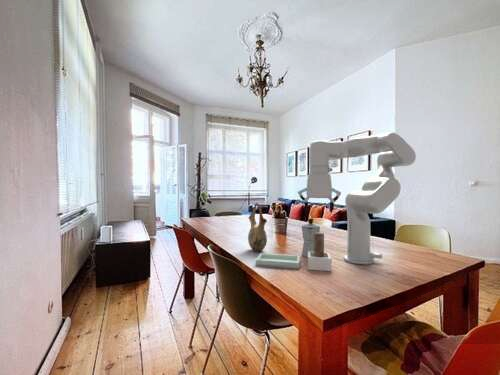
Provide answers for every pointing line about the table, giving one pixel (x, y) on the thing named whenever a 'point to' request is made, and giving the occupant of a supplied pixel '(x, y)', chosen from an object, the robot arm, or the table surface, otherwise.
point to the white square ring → (319, 262)
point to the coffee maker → (309, 237)
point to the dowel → (318, 244)
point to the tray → (278, 260)
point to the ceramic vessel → (257, 231)
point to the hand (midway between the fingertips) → (318, 211)
